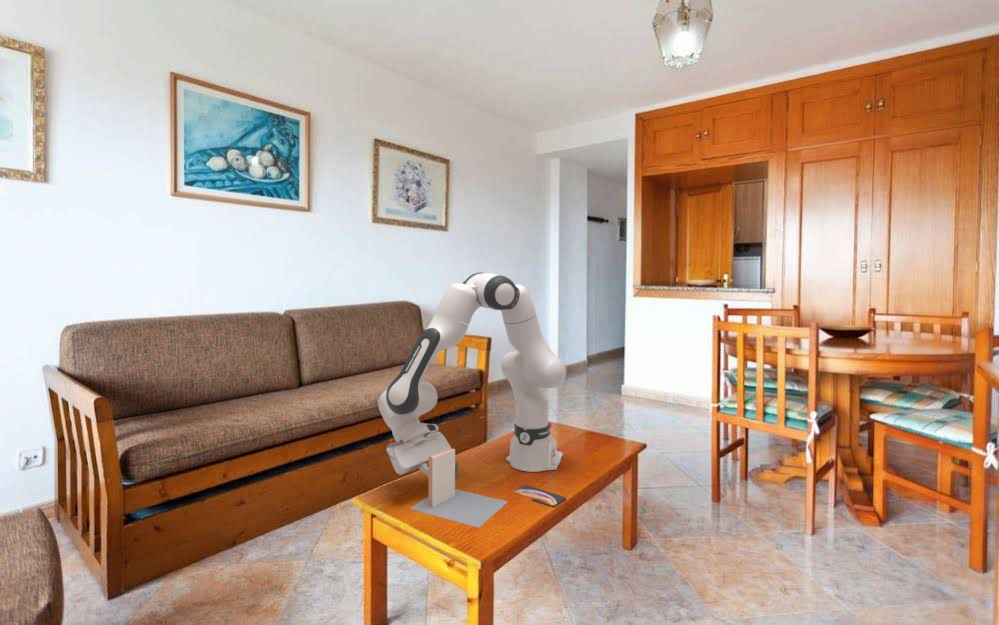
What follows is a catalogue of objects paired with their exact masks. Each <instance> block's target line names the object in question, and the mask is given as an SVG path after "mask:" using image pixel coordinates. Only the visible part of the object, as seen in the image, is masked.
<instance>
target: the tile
mask: <svg viewBox="0 0 999 625" xmlns="http://www.w3.org/2000/svg"><path fill="white" fill-rule="evenodd" d="M455 461H456V449H455V448H452V447H451V448H449V449H447V450H444V451H442V452H439V453H436V454H434V455H431V456H429V465H428V468H429V478H428V487H427V488H428V491H427V492H428V496H427V497H428V505H429V506H431V507H434V506H436V505H438V504H440V503H442V502H444V501H446V500H448V499H450V498H452V497H454V496H455V489H456V477H455Z"/></svg>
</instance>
